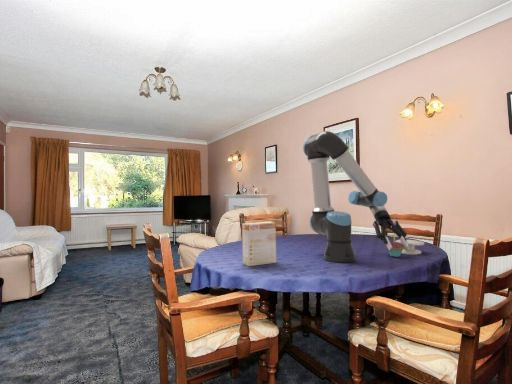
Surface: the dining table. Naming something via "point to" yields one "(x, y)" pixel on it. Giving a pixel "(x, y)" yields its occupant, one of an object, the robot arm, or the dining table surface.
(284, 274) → the dining table surface
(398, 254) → the cupcake
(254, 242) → the coffeecake box
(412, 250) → the cake stand
